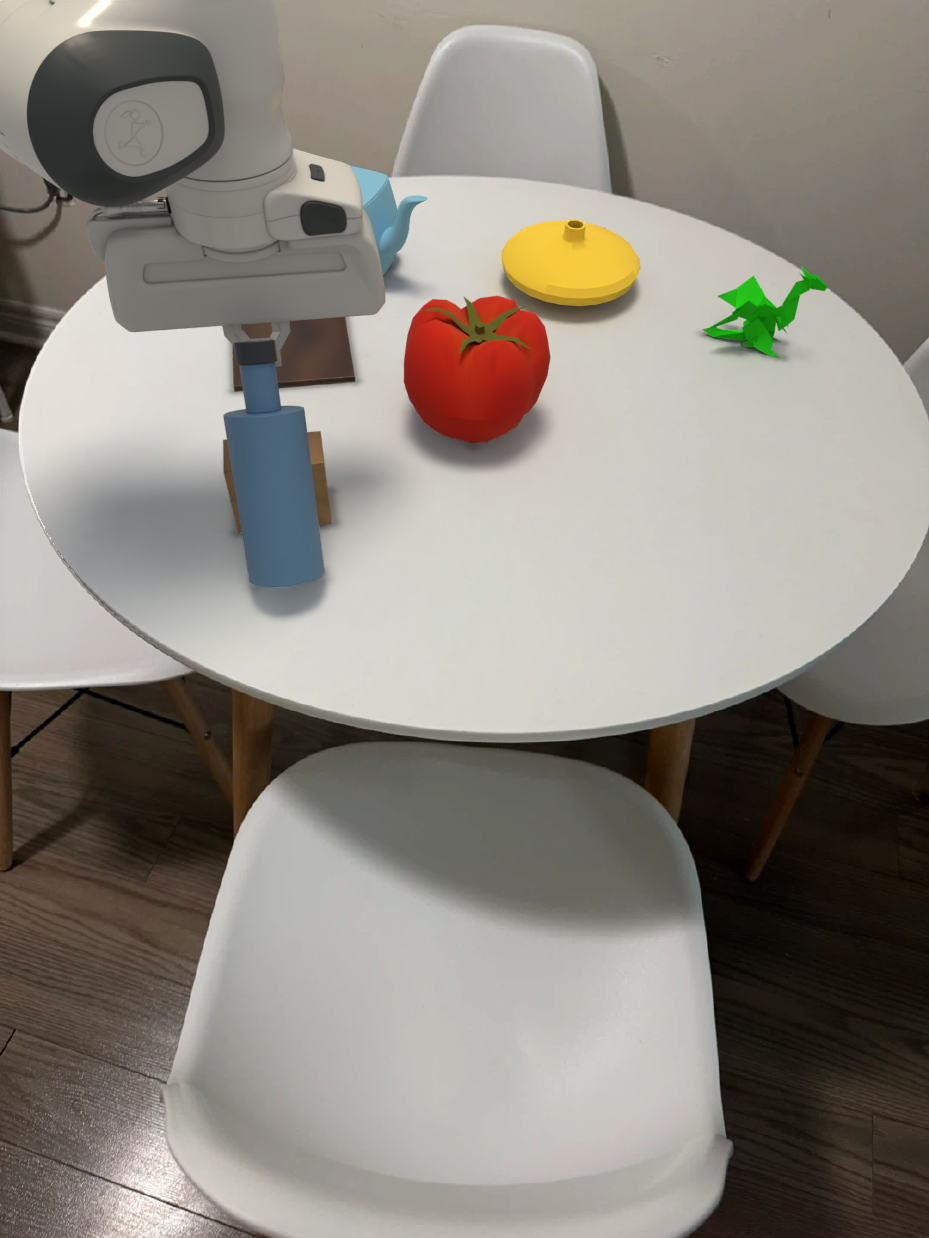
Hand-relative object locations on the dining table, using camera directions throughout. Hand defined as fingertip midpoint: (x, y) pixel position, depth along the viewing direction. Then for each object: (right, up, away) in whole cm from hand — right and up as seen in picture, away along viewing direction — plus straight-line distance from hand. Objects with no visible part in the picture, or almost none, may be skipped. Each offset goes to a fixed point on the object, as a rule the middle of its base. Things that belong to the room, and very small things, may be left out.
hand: (263, 363), depth 71 cm
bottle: (+1, -15, +2) cm, 16 cm away
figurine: (+47, +9, +24) cm, 54 cm away
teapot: (+4, +19, +30) cm, 36 cm away
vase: (+28, +18, +30) cm, 45 cm away
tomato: (+17, -1, +15) cm, 23 cm away
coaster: (-2, +7, +20) cm, 21 cm away
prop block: (+1, -11, +5) cm, 13 cm away
